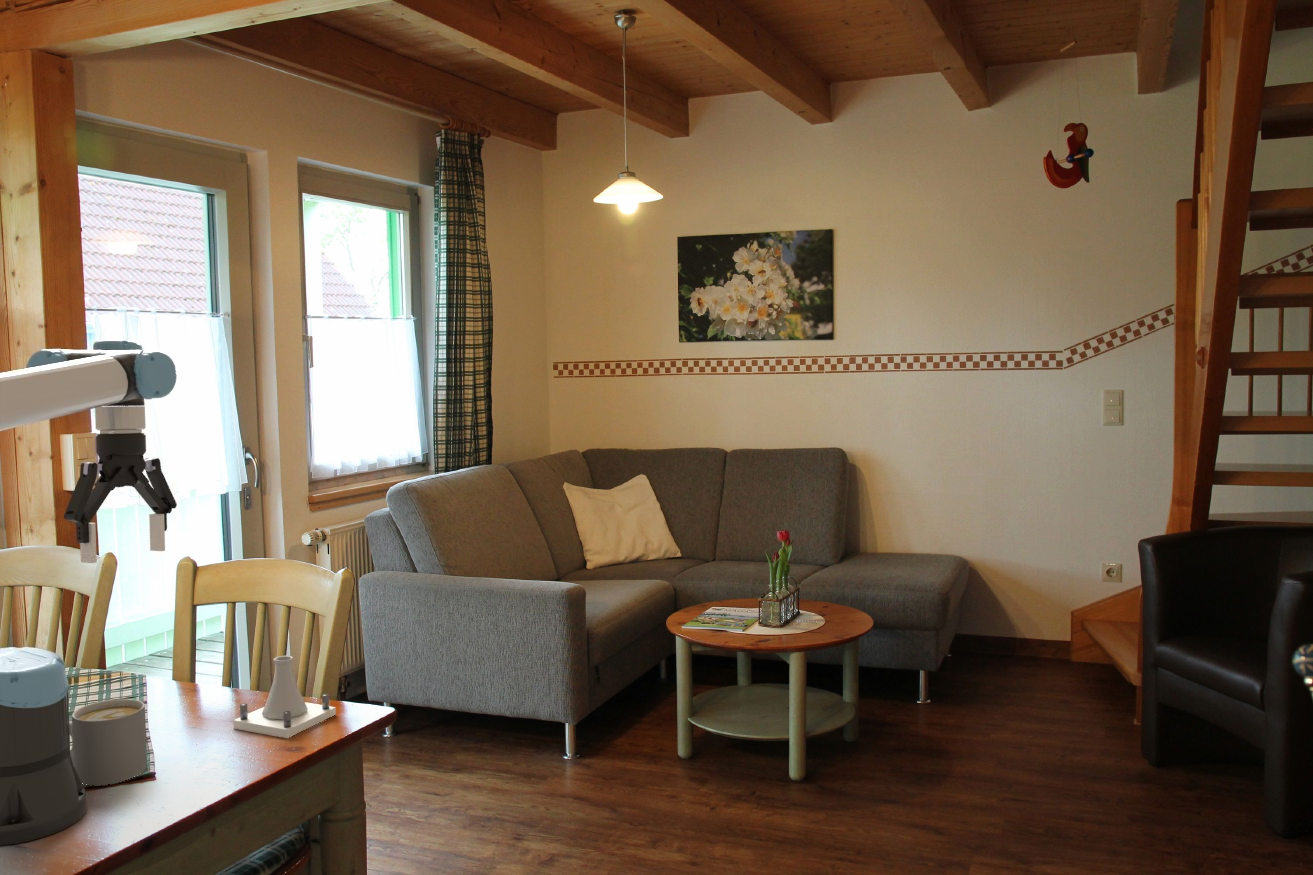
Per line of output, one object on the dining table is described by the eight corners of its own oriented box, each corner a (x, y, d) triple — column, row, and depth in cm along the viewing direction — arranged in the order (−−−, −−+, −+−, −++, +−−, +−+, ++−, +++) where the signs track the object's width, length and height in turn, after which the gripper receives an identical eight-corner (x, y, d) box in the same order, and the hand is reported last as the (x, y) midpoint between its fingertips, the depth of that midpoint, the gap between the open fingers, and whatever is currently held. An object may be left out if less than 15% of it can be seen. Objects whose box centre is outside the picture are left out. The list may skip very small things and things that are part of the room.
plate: (288, 738, 172) (287, 729, 171) (233, 728, 176) (233, 719, 176) (335, 715, 183) (335, 707, 182) (283, 706, 187) (283, 698, 187)
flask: (253, 716, 178) (252, 660, 177) (285, 703, 184) (284, 650, 183) (284, 723, 174) (282, 666, 174) (315, 710, 181) (314, 655, 180)
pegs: (287, 728, 172) (287, 713, 172) (238, 719, 176) (238, 705, 176) (330, 707, 182) (330, 694, 182) (283, 699, 186) (283, 686, 186)
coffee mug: (160, 760, 162) (157, 699, 161) (123, 786, 152) (120, 721, 151) (80, 757, 163) (77, 697, 162) (38, 783, 153) (35, 719, 152)
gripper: (165, 429, 185) (168, 545, 186) (36, 434, 162) (40, 566, 163) (196, 429, 182) (199, 547, 183) (69, 434, 159) (73, 569, 160)
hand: (124, 556), depth 173 cm, fingers open, 13 cm apart
